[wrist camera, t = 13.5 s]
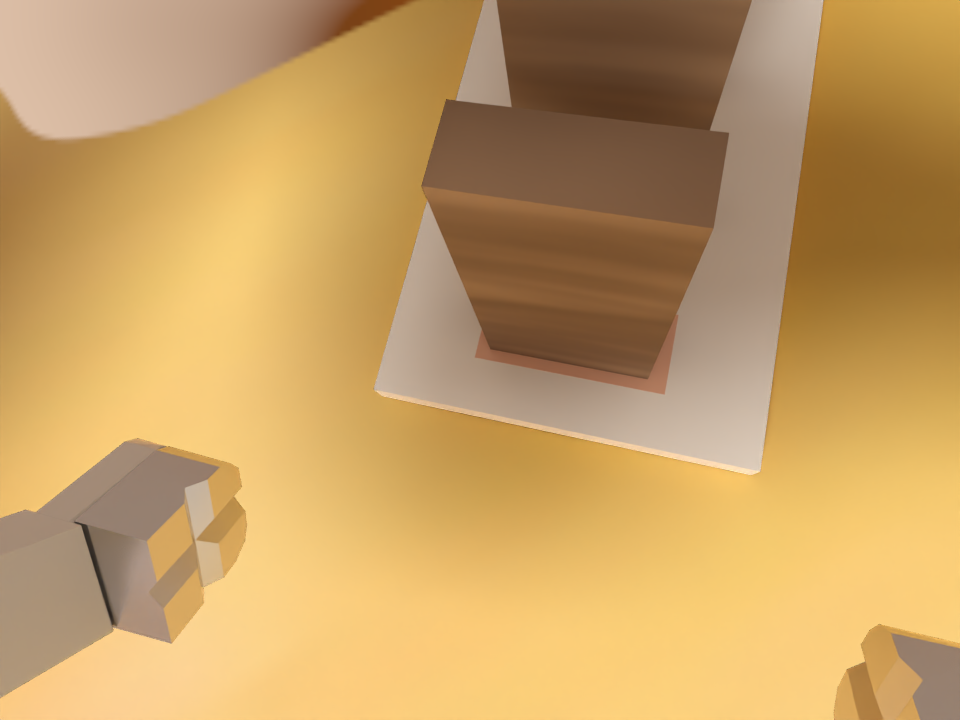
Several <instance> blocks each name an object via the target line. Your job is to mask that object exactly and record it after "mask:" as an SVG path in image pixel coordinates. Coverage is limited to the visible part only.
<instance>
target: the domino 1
mask: <svg viewBox="0 0 960 720" xmlns="http://www.w3.org/2000/svg"><path fill="white" fill-rule="evenodd" d="M751 2H752V0H497V7H498V14H499V21H500V28H501V35H502V42H503V49H504V56H505V64H506V71H507V78H508V85H509V92H510V99H511V106H512V107H515V108H523V109H532V110H540V111H549V112H557V113H566V114H574V115H583V116H591V117H600V118H608V119H617V120H625V121H634V122H642V123H650V124H659V125H667V126H676V127H684V128H693V129H701V130H710V128H711V125H712V122H713V119H714V116H715V113H716V110H717V107H718V104H719V101H720V98H721V94H722V91H723V88H724V85H725V82H726V79H727V76H728V73H729V70H730V67H731V64H732V61H733V57H734V54H735V51H736V48H737V45H738V42H739V39H740V36H741V33H742V30H743V27H744V24H745V21H746V17H747V14H748V11H749V8H750V5H751Z"/></svg>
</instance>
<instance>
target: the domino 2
mask: <svg viewBox="0 0 960 720" xmlns="http://www.w3.org/2000/svg"><path fill="white" fill-rule="evenodd" d="M728 138H729V133H727V132H718V131H710V130H701V129H693V128H684V127H676V126H667V125H659V124H650V123H642V122H634V121H625V120H617V119H608V118H600V117H591V116H583V115H574V114H566V113H557V112H549V111H540V110H532V109H523V108H515V107H506V106H498V105H489V104H481V103H472V102H464V101H455V100H447V99H446V102H445V106H444V109H443V113H442V116H441V120H440V123H439V127H438V130H437V134H436V137H435V141H434V144H433V148H432V151H431V154H430V158H429V161H428V165H427V168H426V172H425V175H424V179H423V182H422V189H423V191H424V193H425V196H426V198H427V201H428V203H429V205H430V208H431V210H432V212H433V215H434V217H435V219H436V222H437V224H438V227H439V229H440V231H441V234H442V236H443V238H444V241H445V243H446V246H447V248H448V250H449V253H450V255H451V257H452V260H453V262H454V264H455V267H456V269H457V272H458V274H459V276H460V279H461V281H462V283H463V286H464V288H465V291H466V293H467V295H468V298H469V300H470V302H471V305H472V307H473V309H474V312H475V314H476V317H477V319H478V321H479V324H480V326H481V328H482V331H483V333H484V336H485V338H486V340H487V343H488V345H489V347H490V349H492V350H497V351H502V352H507V353H513V354H518V355H523V356H528V357H533V358H539V359H544V360H549V361H554V362H560V363H565V364H570V365H575V366H580V367H586V368H591V369H596V370H601V371H607V372H612V373H617V374H622V375H627V376H633V377H638V378H643V379H648V378H649V375H650V373H651V371H652V369H653V366H654V364H655V362H656V359H657V357H658V355H659V353H660V350H661V348H662V346H663V343H664V341H665V339H666V337H667V334H668V332H669V330H670V327H671V325H672V323H673V321H674V318H675V316H676V314H677V311H678V309H679V307H680V304H681V302H682V300H683V298H684V295H685V293H686V291H687V288H688V286H689V284H690V282H691V279H692V277H693V275H694V272H695V270H696V268H697V266H698V263H699V261H700V259H701V256H702V254H703V252H704V250H705V247H706V245H707V243H708V240H709V238H710V236H711V233H712V231H713V229H714V223H715V217H716V211H717V205H718V199H719V193H720V187H721V181H722V175H723V169H724V162H725V156H726V150H727V144H728Z"/></svg>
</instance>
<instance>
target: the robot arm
mask: <svg viewBox="0 0 960 720" xmlns="http://www.w3.org/2000/svg"><path fill="white" fill-rule="evenodd" d="M241 487H242V484H241V479H240V473H239V468H238V467H236V466H234V465H232V464H230V463H227V462H224V461H220V460H216V459H213V458H209V457H206V456H202V455H198V454H195V453H191V452H188V451H184V450H180V449H177V448H173V447H170V446H168V447H167V446H163V445H160V444H156V443H152V442H149V441H145V440H142V439H138V438H137V439H133V440H129V441H125V442H124V443H122V444H121V445H120V446H119V447H117V448H116V449H115V450H114V451H112V452H111V453H110V454H109V455H107V456H106V457H105V458H104V459H102V460H101V461H100V462H99V463H97V464H96V465H95V466H93V467H92V468H91V469H90V470H88V471H87V472H86V473H85V474H83V475H82V476H81V477H80V478H78V479H77V480H76V481H75V482H73V483H72V484H71V485H70V486H68V487H67V488H66V489H65V490H63V491H62V492H61V493H59V494H58V495H57V496H56V497H54V498H53V499H52V500H51V501H49V502H48V503H47V504H46V505H44V506H43V507H42V508H41V509H39V510H38V511H37V512H33V511H29V510H23V511H20V512H17V513H14V514H11V515H9V516H6V517H3V518H0V698H1V697H3V696H4V695H6V694H8V693H9V692H11V691H13V690H15V689H16V688H18V687H20V686H21V685H23V684H25V683H26V682H28V681H30V680H32V679H33V678H35V677H37V676H38V675H40V674H42V673H43V672H45V671H47V670H48V669H50V668H52V667H54V666H55V665H57V664H59V663H60V662H62V661H64V660H65V659H67V658H69V657H71V656H72V655H74V654H76V653H77V652H79V651H81V650H82V649H84V648H86V647H87V646H89V645H91V644H93V643H94V642H96V641H98V640H99V639H101V638H103V637H104V636H106V635H108V634H110V633H111V632H113V627H114V628H117V629H121V630H125V631H128V632H132V633H135V634H139V635H143V636H146V637H150V638H153V639H157V640H161V641H164V642H168V643H173V641H174V640H175V639H176V638H177V636H178V635H179V634H180V633H181V631H182V630H183V629H184V627H185V626H186V625H187V624H188V622H189V621H190V620H191V619H192V617H193V616H194V615H195V614H196V612H197V611H198V610H199V609H200V607H201V606H202V605H203V603H204V587H205V586H207V585H209V584H211V583H213V582H215V581H217V580H220V579H222V578H224V577H225V575H226V574H227V573H228V571H229V570H230V569H231V567H232V566H233V565H234V563H235V562H236V560H237V558H238V556H239V553H240V551H241V549H242V546H243V544H244V541H245V535H246V528H247V521H246V513H245V510H244V509H243V508H242V506H241V505H240V504H239V502H238V501H237V500H236V499H235V497H234V495H235V494H236V493H237V492H238V491H239V490H240V489H241ZM861 647H862V651H863V654H864V658H865V662H863V663H861V664H859V665H856V666H854V667H851V668H849V669H847V670H846V672H845V674H844V676H843V678H842V680H841V682H840V684H839V686H838V688H837V694H836V701H835V707H834V720H960V643H956V642H952V641H947V640H943V639H939V638H935V637H931V636H926V635H922V634H918V633H914V632H910V631H906V630H901V629H897V628H893V627H889V626H885V625H881V624H878V625H877V626H875V627H874V628H872V629H871V630H869V632H868V634H867V635H866V637H865V639H864V640H863V642H862V644H861Z"/></svg>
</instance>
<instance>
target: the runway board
mask: <svg viewBox="0 0 960 720" xmlns="http://www.w3.org/2000/svg"><path fill="white" fill-rule="evenodd" d="M823 1H824V0H752V2H751V5H750V8H749V11H748V14H747V17H746V21H745V24H744V27H743V30H742V33H741V36H740V39H739V42H738V45H737V48H736V51H735V54H734V57H733V61H732V64H731V67H730V70H729V73H728V76H727V79H726V82H725V85H724V88H723V91H722V94H721V98H720V101H719V104H718V107H717V110H716V113H715V116H714V119H713V122H712V125H711V128H710V131H718V132H727V133H729V138H728V144H727V150H726V156H725V162H724V169H723V175H722V181H721V187H720V193H719V199H718V205H717V211H716V217H715V223H714V229H713V231H712V233H711V236H710V238H709V240H708V243H707V245H706V247H705V250H704V252H703V254H702V256H701V259H700V261H699V263H698V266H697V268H696V270H695V272H694V275H693V277H692V279H691V282H690V284H689V286H688V288H687V291H686V293H685V295H684V298H683V300H682V302H681V304H680V307H679V309H678V311H677V314H676V316H675V318H674V321H673V323H672V325H671V327H670V330H669V332H668V334H667V337H666V339H665V341H664V343H663V346H662V348H661V350H660V353H659V355H658V357H657V359H656V362H655V364H654V366H653V369H652V371H651V373H650V375H649V378H648V379H643V378H638V377H633V376H627V375H622V374H617V373H612V372H607V371H601V370H596V369H591V368H586V367H580V366H575V365H570V364H565V363H560V362H554V361H549V360H544V359H539V358H533V357H528V356H523V355H518V354H513V353H507V352H502V351H497V350H492V349H490V347H489V345H488V343H487V340H486V338H485V336H484V333H483V331H482V328H481V326H480V324H479V321H478V319H477V317H476V314H475V312H474V309H473V307H472V305H471V302H470V300H469V298H468V295H467V293H466V291H465V288H464V286H463V283H462V281H461V279H460V276H459V274H458V272H457V269H456V267H455V264H454V262H453V260H452V257H451V255H450V253H449V250H448V248H447V246H446V243H445V241H444V238H443V236H442V234H441V231H440V229H439V227H438V224H437V222H436V219H435V217H434V215H433V212H432V210H431V208H430V205H429V203H428V201H427V203H426V207H425V210H424V214H423V217H422V221H421V224H420V228H419V231H418V235H417V238H416V242H415V245H414V249H413V252H412V256H411V259H410V263H409V266H408V270H407V273H406V277H405V281H404V284H403V288H402V291H401V295H400V298H399V302H398V305H397V309H396V312H395V316H394V319H393V323H392V326H391V330H390V333H389V337H388V340H387V344H386V347H385V351H384V354H383V358H382V361H381V365H380V369H379V372H378V376H377V379H376V383H375V386H374V390H375V391H376V392H377V393H379V394H380V395H381V396H384V397H388V398H393V399H398V400H402V401H407V402H412V403H416V404H421V405H426V406H430V407H435V408H440V409H444V410H449V411H454V412H458V413H463V414H468V415H472V416H477V417H482V418H486V419H491V420H496V421H500V422H505V423H510V424H514V425H519V426H524V427H528V428H533V429H538V430H543V431H547V432H552V433H557V434H561V435H566V436H571V437H575V438H580V439H585V440H589V441H594V442H599V443H603V444H608V445H613V446H617V447H622V448H627V449H631V450H636V451H641V452H645V453H650V454H655V455H659V456H664V457H669V458H673V459H678V460H683V461H687V462H692V463H697V464H701V465H706V466H711V467H715V468H720V469H725V470H729V471H734V472H739V473H743V474H748V475H753V474H756V473H758V472H760V470H761V463H762V455H763V448H764V440H765V433H766V425H767V418H768V410H769V403H770V396H771V388H772V381H773V373H774V366H775V358H776V351H777V343H778V336H779V328H780V321H781V314H782V306H783V299H784V291H785V284H786V276H787V269H788V261H789V254H790V246H791V239H792V232H793V224H794V217H795V209H796V202H797V194H798V187H799V179H800V172H801V165H802V157H803V150H804V142H805V135H806V127H807V120H808V112H809V105H810V97H811V90H812V83H813V75H814V68H815V60H816V53H817V45H818V38H819V30H820V23H821V15H822V8H823ZM456 101H464V102H472V103H481V104H489V105H498V106H506V107H512V106H511V99H510V92H509V85H508V78H507V71H506V64H505V56H504V49H503V42H502V35H501V28H500V21H499V14H498V7H497V0H484V2H483V6H482V9H481V13H480V16H479V20H478V23H477V27H476V30H475V34H474V38H473V41H472V45H471V48H470V52H469V55H468V59H467V62H466V66H465V69H464V73H463V76H462V80H461V83H460V87H459V90H458V94H457V97H456Z"/></svg>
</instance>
